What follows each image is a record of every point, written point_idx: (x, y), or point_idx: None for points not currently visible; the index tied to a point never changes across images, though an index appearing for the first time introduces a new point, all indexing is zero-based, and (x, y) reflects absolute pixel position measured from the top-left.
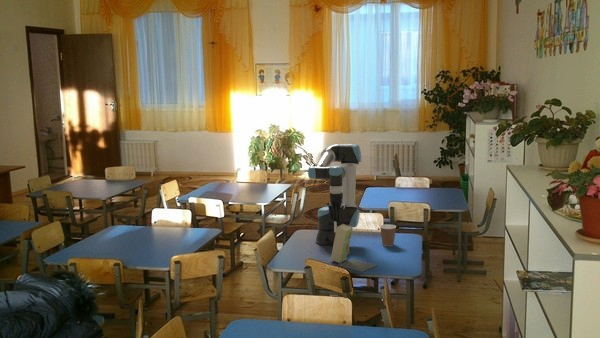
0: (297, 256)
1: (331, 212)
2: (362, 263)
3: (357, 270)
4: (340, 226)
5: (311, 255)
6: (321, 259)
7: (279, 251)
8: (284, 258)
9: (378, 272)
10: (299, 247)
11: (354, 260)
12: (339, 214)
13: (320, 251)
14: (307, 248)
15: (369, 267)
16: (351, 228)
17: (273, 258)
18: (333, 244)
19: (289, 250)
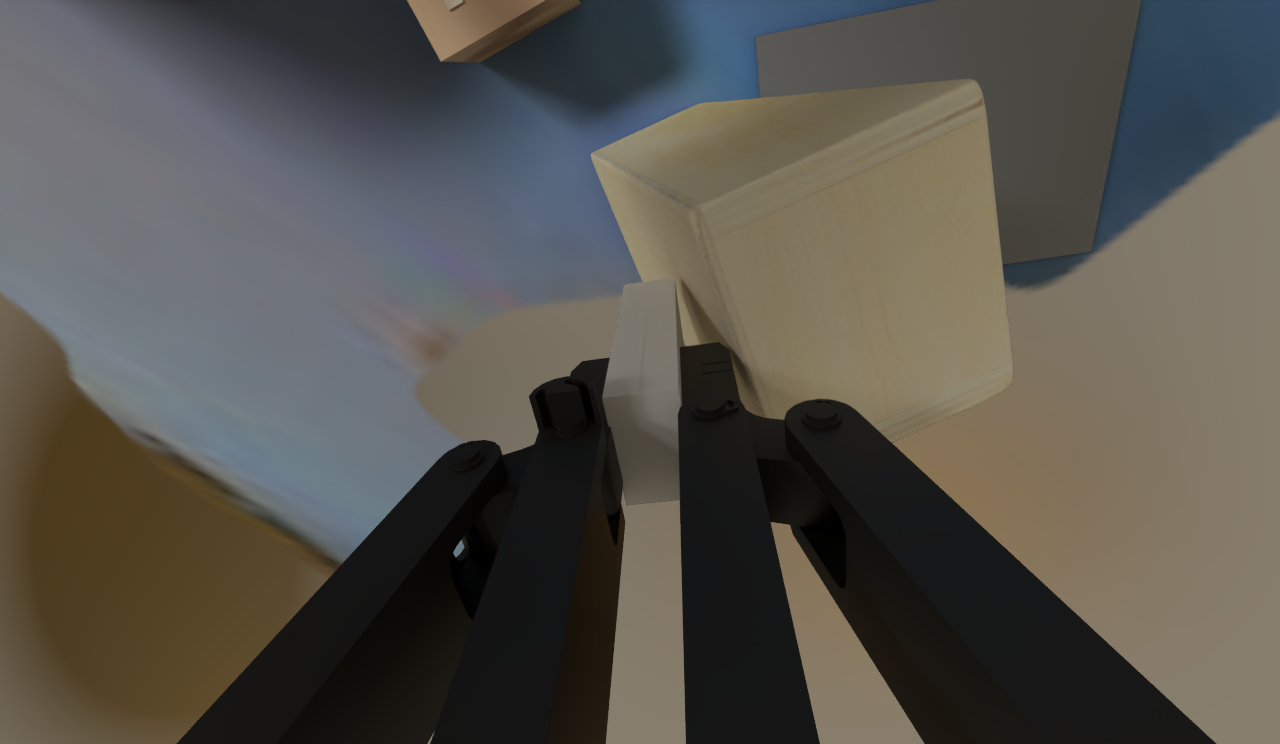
0: (338, 391)
1: (412, 721)
2: (952, 63)
3: (1030, 259)
4: (800, 394)
5: (371, 287)
6: (531, 292)
7: (136, 418)
8: (340, 483)
9: (1255, 124)
10: (58, 217)
11: (808, 61)
12: (905, 710)
13: (285, 130)
14: (122, 173)
15: (1100, 102)
16: (982, 145)
17: (302, 531)
18: (683, 339)
19: (134, 344)
